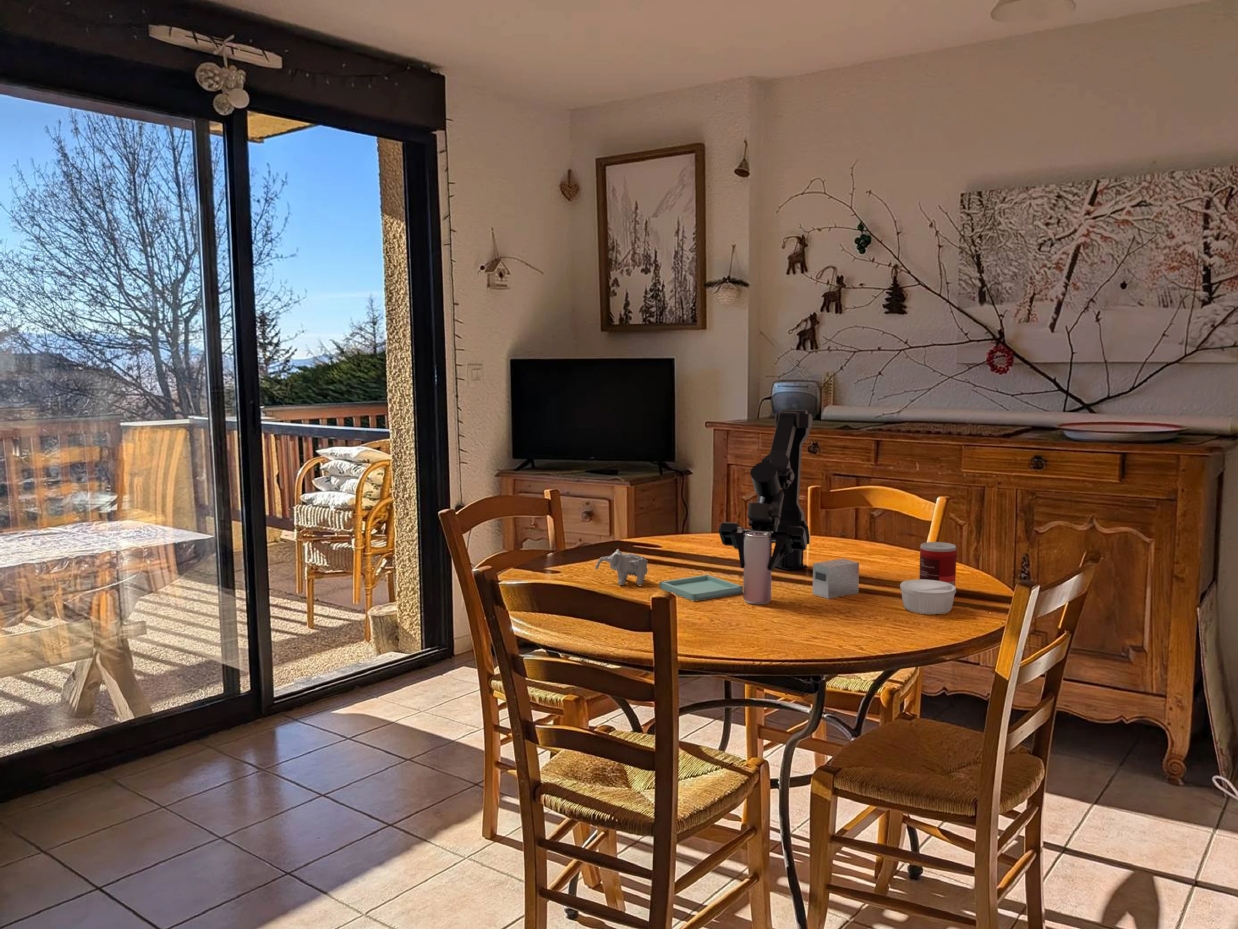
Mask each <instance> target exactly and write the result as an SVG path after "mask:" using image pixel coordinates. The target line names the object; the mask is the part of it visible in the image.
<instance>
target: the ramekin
mask: <svg viewBox="0 0 1238 929" xmlns="http://www.w3.org/2000/svg"><path fill="white" fill-rule="evenodd" d="M899 587H900V588H899V589H900V590H901V597H902V605H903V607H904V608H905V610H906V609H907V610H906V611H908V610H909V611H908V612H910V611H911V612H910V613H913V612H916V613H915V614H917V613H921V614H920V615H923V614H942V613H946V614H948V613H949V612H951V610H952V608H953V604H954V598H955V594H956V593H957V587H956V585H955V586H954V585H952V584H950V583H947V582H942V581H936V580H925V579H910V580H904V581H902V582H901V583H900V584H899ZM947 612H948V613H947Z"/></svg>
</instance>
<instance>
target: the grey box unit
mask: <svg viewBox="0 0 1238 929" xmlns="http://www.w3.org/2000/svg"><path fill="white" fill-rule="evenodd" d="M859 576H860V562H858V561H854V560H851V559H846V558H839V559H831V560H825V561H819V562H813V563H812V595H815V596H817V597H821V598H824V599H827V600H829V599H834V598H835V597H836V598H840V597H839V596H841V597H845V595H847V596H852V595H857V594H859V586H860V585H859V582H860V581H859V579H860V577H859Z"/></svg>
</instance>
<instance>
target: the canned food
mask: <svg viewBox="0 0 1238 929" xmlns="http://www.w3.org/2000/svg"><path fill="white" fill-rule="evenodd" d="M919 548H920V551H919V579H925V580H936V581H942V582H947V583H950V584H952V585H954V586H955V587H956V577H957V576H956V575H957V546H956V544H953V543H949V542H944V541H943V542H942V541H941V542H940V541H928V542H923V543H921V544H920V547H919Z"/></svg>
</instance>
